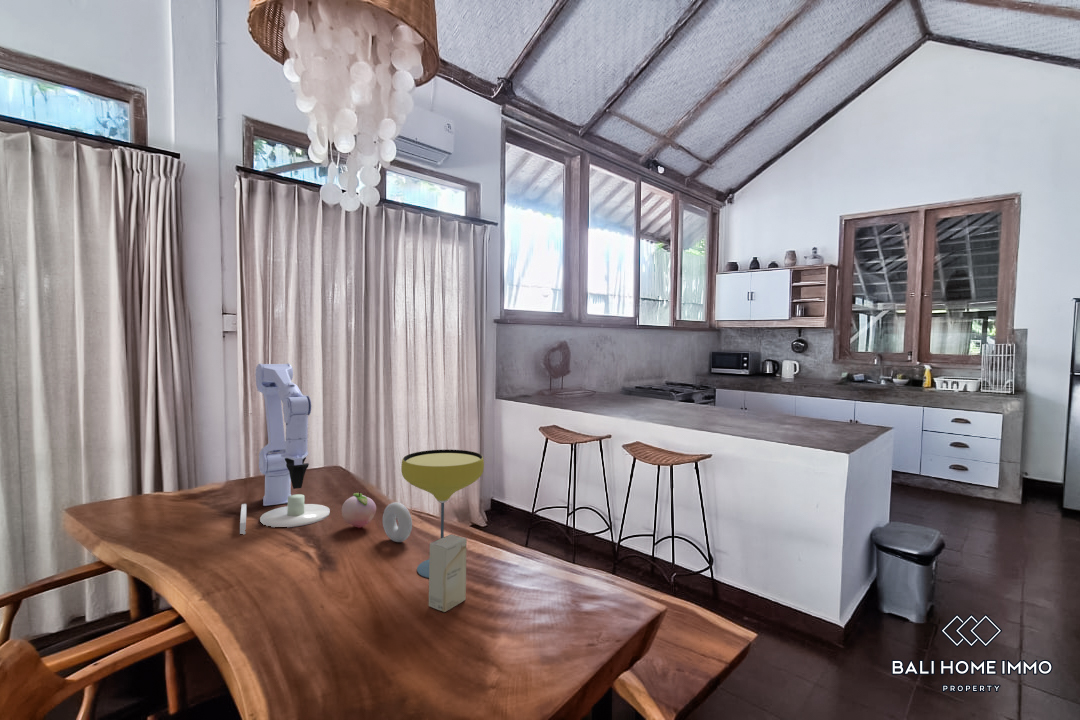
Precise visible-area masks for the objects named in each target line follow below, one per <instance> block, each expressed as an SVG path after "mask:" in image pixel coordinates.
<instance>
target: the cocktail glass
mask: <svg viewBox="0 0 1080 720" xmlns="http://www.w3.org/2000/svg"><path fill="white" fill-rule="evenodd" d="M400 467H401V469H400V471H401V476H402V478H403V479H405V481H406V482H408V483H409V484H410V485H412V486H413V487H415V488H418V489H420V490H422V491H425V492H427V493H429V494H431V495H433V497H434V499H436V500H437V502H438V503H441V505H440V507H441V508H440V511H441V512H440V539H441V538H443V537H445V535H444V533H445V530H444V529H445V528H444V526H445V523H444V522H445V503H447V502H448V501H449V500H450V498H451V497H452V495H453V494H455V493H457V492H458V491H460V490H462V489H465V488H466V487H468V486H470V485H472V484H474V483H475V482H476V481H478V480H479V479H480V477H481V476H482V475H483V473H484V469H485V461H484V457H483V455H482V454H480V453H479V452H475V451H471V450H463V449H431V450H423V451H417V452H412V453H409V454H406V455H405V456H404V457H403V458H402V459H401V466H400ZM416 571H417V572H416V573H417V574H418V575H419V576H420V577H423V578H426V579H429V558H428V559H426V560H424V561H422V562H420V563H419V564H418V566H417V567H416Z"/></svg>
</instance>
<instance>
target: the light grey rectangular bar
mask: <svg viewBox="0 0 1080 720" xmlns="http://www.w3.org/2000/svg"><path fill="white" fill-rule="evenodd" d="M240 507H241V509H240V519H239V521H240V522H239V535H240V534H243V535H246V531H245V530H246V529H247V528H246V527H247V526H246V525H247V503H241V506H240Z"/></svg>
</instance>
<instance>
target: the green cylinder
mask: <svg viewBox="0 0 1080 720" xmlns="http://www.w3.org/2000/svg"><path fill="white" fill-rule="evenodd" d="M304 504H305V495H304V494H301V493H300V494H299V493H298V494H297V493H296V494H291V496H288V503H287V504H286V505H287V515H288V516H299V515H302V514H304Z"/></svg>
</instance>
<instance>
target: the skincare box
mask: <svg viewBox="0 0 1080 720" xmlns="http://www.w3.org/2000/svg"><path fill="white" fill-rule="evenodd" d="M467 541H468V540H467V538H466V537H463V536H459V535H455V534H452V533H451V534H448V535H446V536H444V537H443V538H441V537H440V538H439V539H437V540H435V541H432V542H430V543H429V558H428V559H429V578H428V607H430V608H433V609H435V610H438V611H441V612H442V613H445V612H447V611H450V610H452V609H453V608H454V607H456V606H458V605H459V604H461V603H462V602H465V601H466V599H467V597H466V596H467V592H466V591H467Z"/></svg>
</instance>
